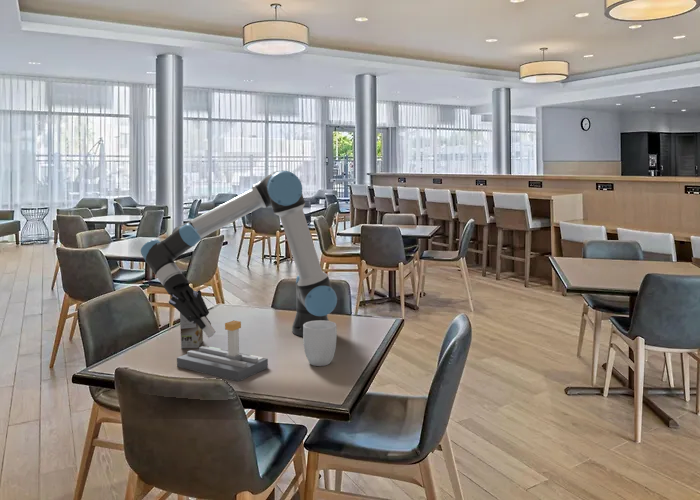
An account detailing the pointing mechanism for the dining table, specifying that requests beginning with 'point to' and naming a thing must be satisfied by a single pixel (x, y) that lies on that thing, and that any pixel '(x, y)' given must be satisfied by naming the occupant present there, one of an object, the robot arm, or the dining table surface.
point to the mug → (319, 341)
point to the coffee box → (190, 333)
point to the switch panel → (221, 363)
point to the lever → (233, 340)
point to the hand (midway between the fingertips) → (212, 334)
